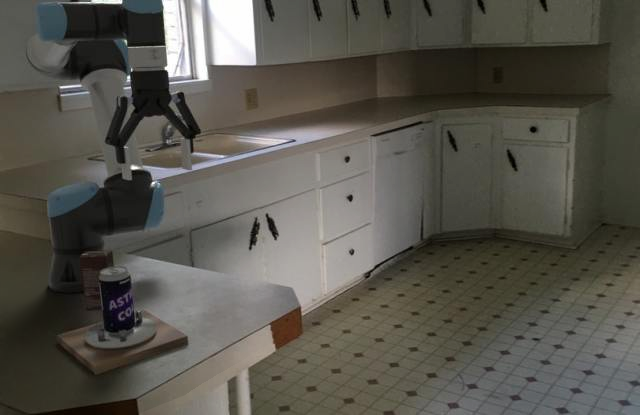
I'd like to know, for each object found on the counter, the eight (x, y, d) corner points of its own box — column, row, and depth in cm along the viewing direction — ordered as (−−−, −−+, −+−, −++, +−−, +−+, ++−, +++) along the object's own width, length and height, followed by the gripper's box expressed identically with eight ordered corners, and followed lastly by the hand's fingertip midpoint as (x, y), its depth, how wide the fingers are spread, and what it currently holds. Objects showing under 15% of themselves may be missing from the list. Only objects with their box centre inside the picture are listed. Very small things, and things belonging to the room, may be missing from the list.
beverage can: (109, 339, 125) (102, 277, 122) (101, 329, 129) (94, 269, 126) (140, 331, 128) (133, 271, 125) (130, 322, 132) (124, 263, 129)
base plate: (57, 342, 130) (56, 335, 130) (144, 316, 141) (143, 309, 141) (95, 374, 117) (94, 366, 116) (188, 343, 128) (187, 335, 128)
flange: (74, 335, 129) (72, 320, 129) (138, 316, 138) (136, 302, 137) (102, 357, 120) (101, 341, 119) (169, 335, 128) (167, 320, 127)
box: (118, 301, 150) (113, 249, 147) (112, 309, 146) (106, 255, 143) (91, 302, 150) (85, 250, 147) (84, 310, 146) (78, 256, 143)
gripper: (95, 73, 125) (108, 186, 130) (212, 66, 140) (219, 167, 145) (79, 72, 130) (92, 181, 135) (193, 66, 146) (201, 163, 151)
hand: (158, 174), depth 140 cm, fingers open, 13 cm apart
